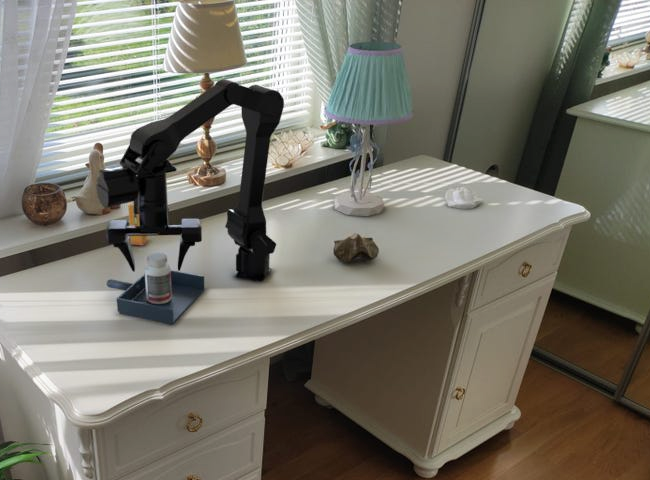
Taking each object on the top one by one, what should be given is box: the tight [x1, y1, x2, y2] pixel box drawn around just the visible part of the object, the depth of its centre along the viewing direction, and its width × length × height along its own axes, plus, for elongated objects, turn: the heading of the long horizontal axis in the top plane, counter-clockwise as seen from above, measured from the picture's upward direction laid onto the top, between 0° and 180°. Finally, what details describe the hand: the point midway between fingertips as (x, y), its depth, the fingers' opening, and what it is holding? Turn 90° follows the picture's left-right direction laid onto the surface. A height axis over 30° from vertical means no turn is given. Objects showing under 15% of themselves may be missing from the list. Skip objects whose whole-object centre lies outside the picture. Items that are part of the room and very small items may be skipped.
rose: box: [444, 186, 484, 210], centre depth 191 cm, size 10×4×10 cm
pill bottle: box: [143, 251, 172, 304], centre depth 147 cm, size 5×5×10 cm
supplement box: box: [127, 201, 148, 247], centre depth 173 cm, size 3×3×10 cm
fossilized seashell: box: [332, 232, 380, 263], centre depth 163 cm, size 8×7×10 cm
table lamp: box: [324, 41, 415, 217], centre depth 180 cm, size 22×22×40 cm
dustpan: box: [106, 269, 205, 326], centre depth 150 cm, size 19×16×3 cm
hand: (156, 270), depth 146 cm, fingers open, 9 cm apart
